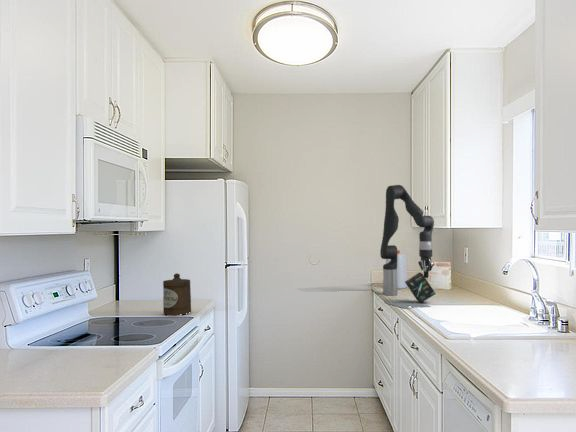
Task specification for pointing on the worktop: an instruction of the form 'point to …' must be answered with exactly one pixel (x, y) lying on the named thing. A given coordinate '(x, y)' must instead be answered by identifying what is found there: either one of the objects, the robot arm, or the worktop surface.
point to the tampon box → (420, 287)
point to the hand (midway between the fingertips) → (426, 277)
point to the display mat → (406, 304)
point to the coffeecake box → (440, 275)
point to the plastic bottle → (400, 270)
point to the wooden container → (176, 296)
